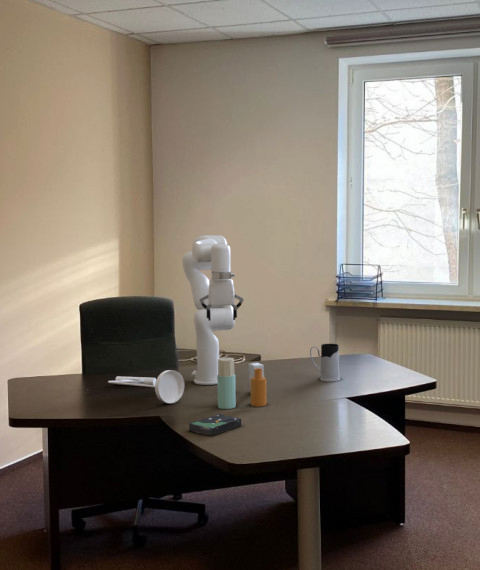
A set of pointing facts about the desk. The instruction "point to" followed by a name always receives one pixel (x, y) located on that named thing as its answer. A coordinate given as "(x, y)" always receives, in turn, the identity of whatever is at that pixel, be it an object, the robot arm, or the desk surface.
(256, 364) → the cosmetic box
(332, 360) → the glass holder
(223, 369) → the cream short cylinder
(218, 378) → the bottle
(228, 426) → the disk drive
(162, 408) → the desk surface
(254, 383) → the amber bottle
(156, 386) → the desk lamp
